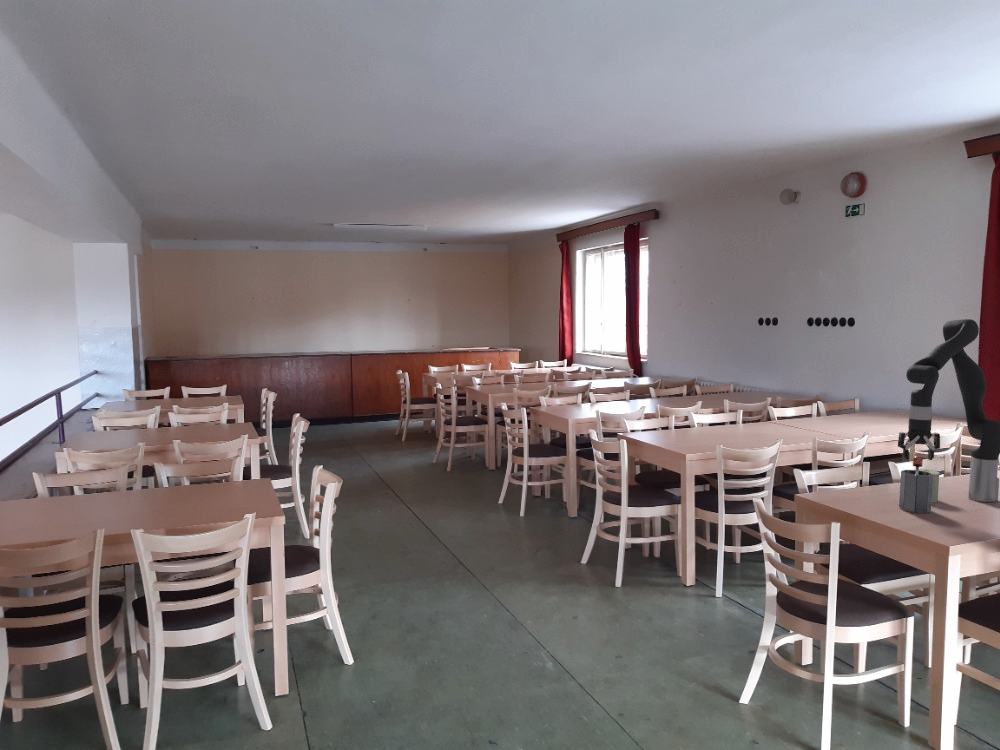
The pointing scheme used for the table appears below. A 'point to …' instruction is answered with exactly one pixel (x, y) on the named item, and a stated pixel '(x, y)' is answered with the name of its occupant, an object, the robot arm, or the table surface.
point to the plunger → (917, 463)
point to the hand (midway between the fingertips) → (918, 459)
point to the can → (934, 484)
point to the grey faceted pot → (916, 491)
